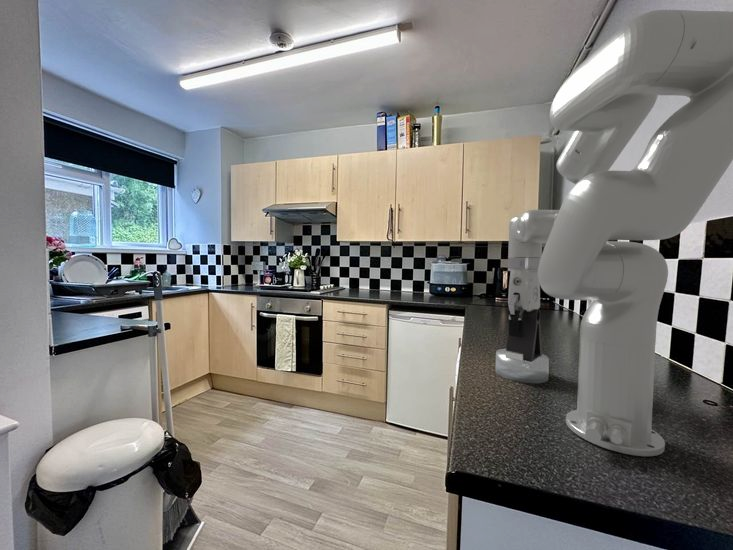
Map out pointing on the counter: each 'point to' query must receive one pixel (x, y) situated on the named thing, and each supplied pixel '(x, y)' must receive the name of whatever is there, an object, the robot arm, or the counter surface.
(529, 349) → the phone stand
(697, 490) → the counter surface
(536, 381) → the grey short round piece
